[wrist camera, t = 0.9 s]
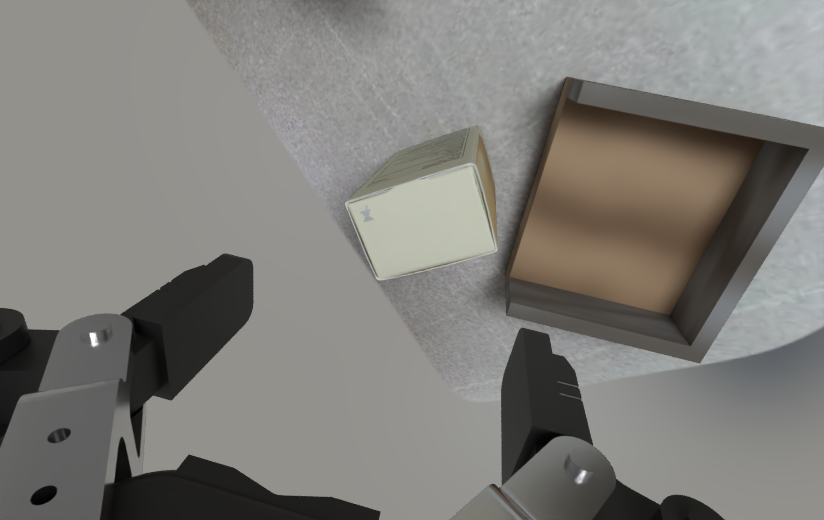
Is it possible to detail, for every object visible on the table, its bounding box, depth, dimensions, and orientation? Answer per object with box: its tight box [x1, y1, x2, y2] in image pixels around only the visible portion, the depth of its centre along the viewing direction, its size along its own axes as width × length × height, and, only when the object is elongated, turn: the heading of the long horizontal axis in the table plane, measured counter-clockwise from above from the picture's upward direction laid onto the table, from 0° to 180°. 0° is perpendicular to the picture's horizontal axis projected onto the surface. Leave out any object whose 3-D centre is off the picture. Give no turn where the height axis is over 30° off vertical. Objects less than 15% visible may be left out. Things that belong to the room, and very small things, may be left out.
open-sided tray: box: [505, 77, 824, 363], centre depth 26 cm, size 14×12×6 cm
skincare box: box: [345, 126, 498, 281], centre depth 24 cm, size 6×4×12 cm
